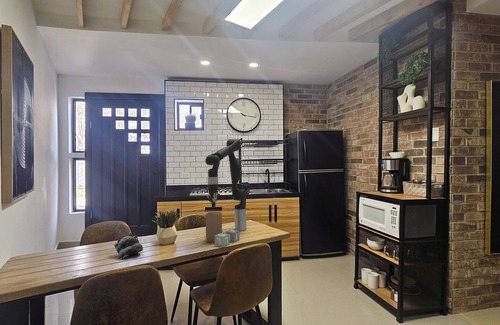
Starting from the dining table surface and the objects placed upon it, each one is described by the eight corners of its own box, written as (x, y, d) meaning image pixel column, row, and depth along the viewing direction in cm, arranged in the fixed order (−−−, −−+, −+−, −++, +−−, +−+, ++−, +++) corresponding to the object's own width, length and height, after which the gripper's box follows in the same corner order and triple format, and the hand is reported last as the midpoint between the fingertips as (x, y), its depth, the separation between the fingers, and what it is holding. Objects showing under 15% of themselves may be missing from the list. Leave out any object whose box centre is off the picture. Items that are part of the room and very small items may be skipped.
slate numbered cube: (231, 239, 213) (231, 229, 213) (239, 240, 209) (239, 230, 209) (225, 241, 207) (225, 231, 207) (233, 243, 203) (233, 232, 203)
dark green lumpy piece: (116, 260, 169) (110, 238, 173) (120, 262, 180) (114, 241, 184) (143, 250, 174) (136, 228, 178) (145, 252, 185) (138, 232, 189)
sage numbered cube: (221, 243, 203) (221, 232, 203) (229, 244, 199) (229, 234, 199) (214, 245, 197) (214, 235, 197) (222, 247, 193) (222, 236, 193)
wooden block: (222, 238, 214) (221, 211, 214) (219, 242, 204) (219, 214, 204) (209, 238, 215) (208, 211, 215) (205, 242, 205) (205, 214, 205)
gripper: (215, 182, 217) (215, 205, 217) (202, 183, 206) (203, 208, 206) (223, 182, 213) (223, 206, 213) (211, 184, 202) (211, 209, 202)
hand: (213, 207), depth 209 cm, fingers closed
